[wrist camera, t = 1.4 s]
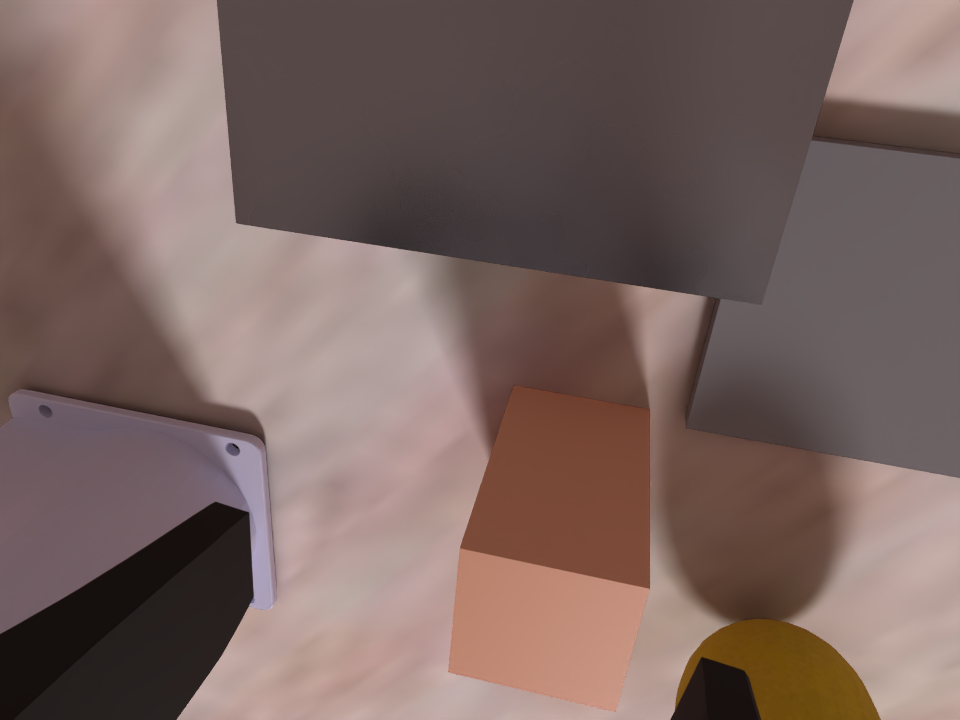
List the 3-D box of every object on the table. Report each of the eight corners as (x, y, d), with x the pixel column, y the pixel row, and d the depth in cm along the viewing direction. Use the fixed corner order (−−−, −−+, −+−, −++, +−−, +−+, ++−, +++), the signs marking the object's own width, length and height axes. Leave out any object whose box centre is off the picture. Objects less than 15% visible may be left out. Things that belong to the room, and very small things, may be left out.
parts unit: (362, 155, 19) (227, 240, 13) (363, -98, 16) (191, -141, 10) (728, 205, 18) (768, 327, 12) (797, -61, 15) (896, -84, 9)
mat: (684, 416, 21) (686, 428, 20) (761, 129, 17) (765, 134, 16) (985, 470, 19) (995, 484, 19) (1143, 176, 16) (1159, 183, 15)
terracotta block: (500, 490, 23) (448, 671, 17) (513, 385, 21) (459, 548, 15) (624, 515, 23) (615, 712, 17) (649, 409, 21) (649, 588, 15)
